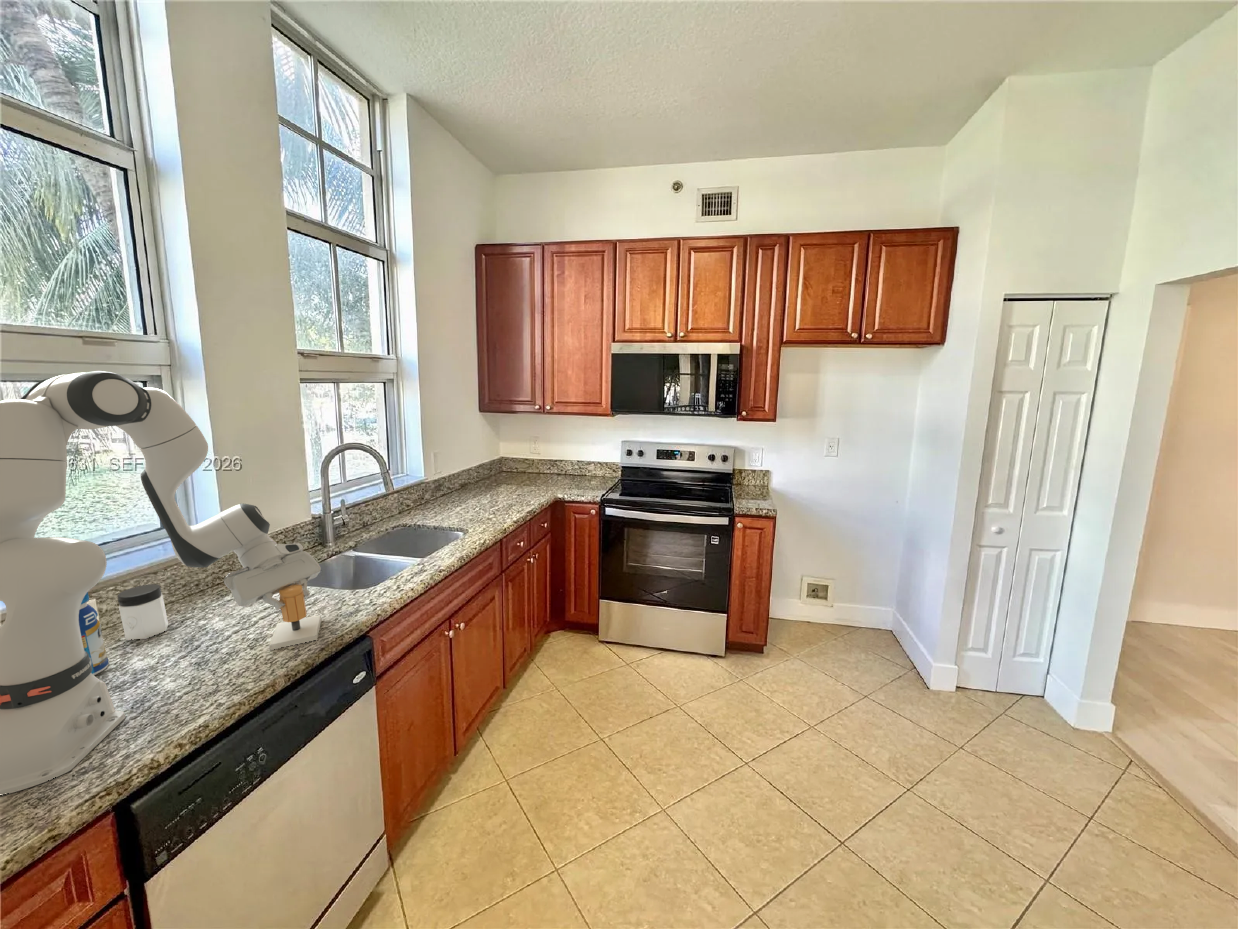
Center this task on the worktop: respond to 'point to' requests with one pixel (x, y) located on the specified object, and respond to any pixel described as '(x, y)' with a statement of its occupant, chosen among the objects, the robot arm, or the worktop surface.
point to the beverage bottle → (92, 636)
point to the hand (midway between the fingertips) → (294, 602)
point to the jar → (142, 611)
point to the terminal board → (295, 632)
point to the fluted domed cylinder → (293, 603)
